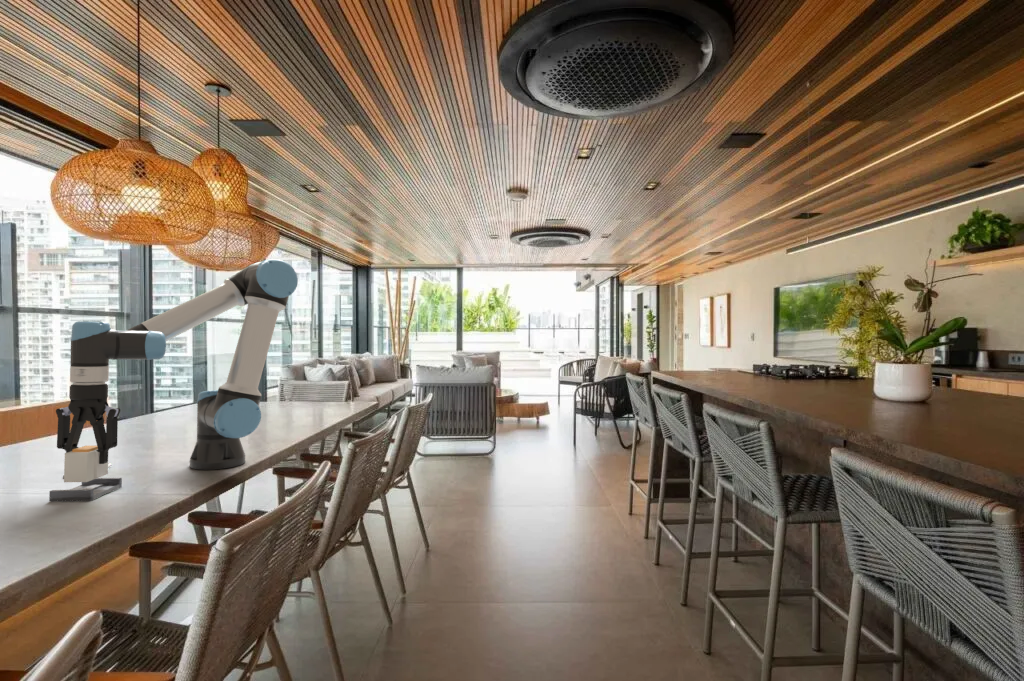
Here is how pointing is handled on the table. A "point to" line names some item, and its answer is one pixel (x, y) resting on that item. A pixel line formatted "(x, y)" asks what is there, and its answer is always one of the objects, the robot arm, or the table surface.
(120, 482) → the dark grey tray
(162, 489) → the table surface
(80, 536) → the table surface
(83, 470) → the block
